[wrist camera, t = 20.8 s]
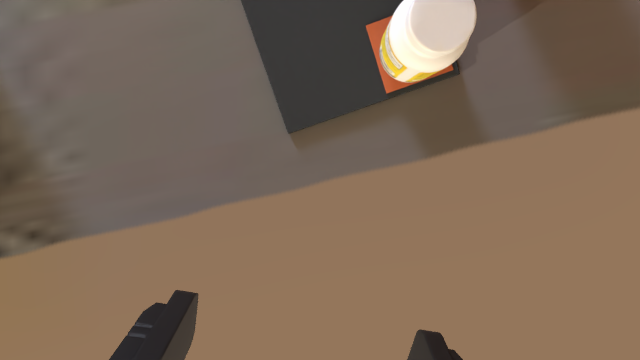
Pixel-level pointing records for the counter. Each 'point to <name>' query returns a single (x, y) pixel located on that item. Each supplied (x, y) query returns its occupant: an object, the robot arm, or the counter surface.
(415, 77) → the supplement bottle
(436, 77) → the corner mat
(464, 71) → the counter surface
